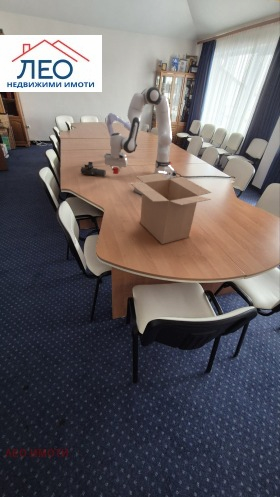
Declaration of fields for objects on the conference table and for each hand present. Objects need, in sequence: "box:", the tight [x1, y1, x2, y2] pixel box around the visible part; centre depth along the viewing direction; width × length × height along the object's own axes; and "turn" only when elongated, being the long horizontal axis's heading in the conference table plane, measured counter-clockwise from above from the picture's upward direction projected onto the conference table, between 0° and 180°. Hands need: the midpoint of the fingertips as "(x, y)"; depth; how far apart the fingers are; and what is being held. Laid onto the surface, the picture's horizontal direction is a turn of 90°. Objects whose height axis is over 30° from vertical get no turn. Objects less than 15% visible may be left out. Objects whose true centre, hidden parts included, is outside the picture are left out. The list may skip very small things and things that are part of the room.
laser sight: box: [80, 161, 107, 177], centre depth 198 cm, size 10×22×10 cm, turn 78°
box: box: [128, 173, 212, 245], centre depth 124 cm, size 44×36×27 cm
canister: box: [112, 166, 119, 175], centre depth 196 cm, size 5×5×5 cm
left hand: (131, 151), depth 253 cm, fingers open, 7 cm apart
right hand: (115, 170), depth 196 cm, fingers closed on canister, 5 cm apart
